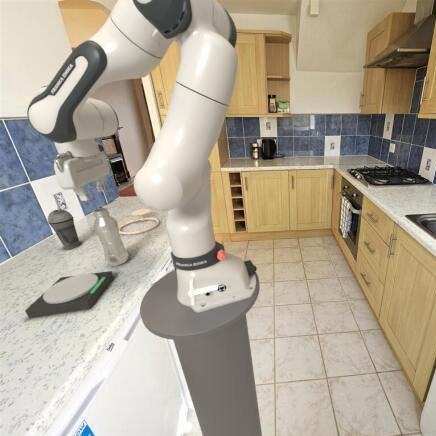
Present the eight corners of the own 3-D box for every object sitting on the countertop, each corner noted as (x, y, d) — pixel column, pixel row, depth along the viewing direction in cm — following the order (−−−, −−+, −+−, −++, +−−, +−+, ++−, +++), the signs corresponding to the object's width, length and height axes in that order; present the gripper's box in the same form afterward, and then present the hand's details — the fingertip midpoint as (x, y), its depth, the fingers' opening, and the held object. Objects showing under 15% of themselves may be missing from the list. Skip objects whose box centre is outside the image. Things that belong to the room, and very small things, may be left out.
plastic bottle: (113, 258, 88) (93, 207, 80) (133, 256, 89) (116, 205, 81) (104, 269, 82) (82, 214, 74) (125, 266, 83) (106, 212, 75)
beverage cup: (59, 246, 97) (37, 199, 89) (82, 240, 102) (63, 194, 94) (61, 253, 92) (38, 203, 84) (85, 245, 97) (65, 198, 89)
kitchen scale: (114, 277, 77) (110, 268, 76) (90, 308, 65) (85, 299, 63) (63, 284, 75) (59, 275, 74) (29, 318, 62) (23, 308, 61)
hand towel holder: (109, 228, 101) (123, 211, 119) (112, 238, 103) (125, 219, 121) (153, 222, 106) (161, 206, 124) (156, 231, 107) (163, 214, 125)
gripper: (67, 154, 61) (87, 205, 66) (106, 145, 79) (119, 186, 85) (38, 155, 60) (60, 207, 65) (85, 145, 78) (99, 187, 84)
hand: (94, 195), depth 75 cm, fingers open, 8 cm apart
